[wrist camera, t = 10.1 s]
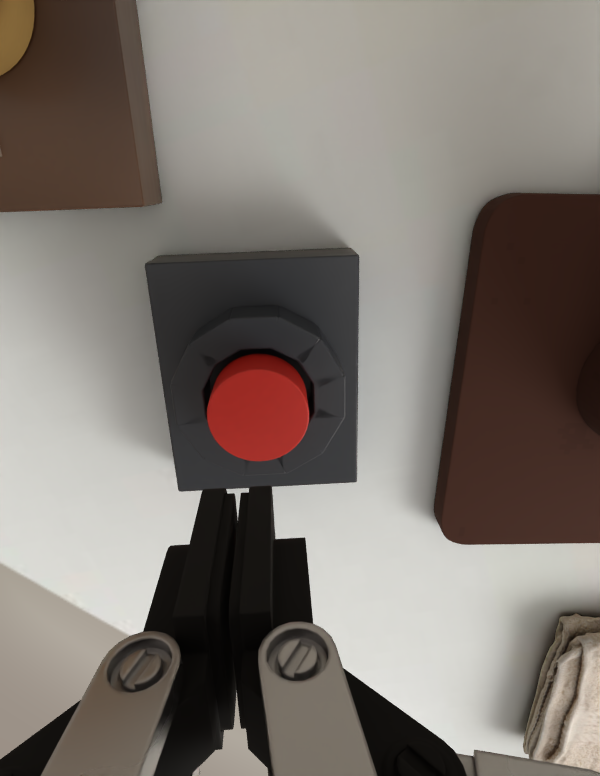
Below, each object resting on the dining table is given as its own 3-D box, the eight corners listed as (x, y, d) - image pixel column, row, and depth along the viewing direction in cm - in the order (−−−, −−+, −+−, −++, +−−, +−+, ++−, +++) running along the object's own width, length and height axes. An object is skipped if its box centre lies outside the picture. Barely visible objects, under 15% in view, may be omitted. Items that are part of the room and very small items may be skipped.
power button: (207, 355, 19) (201, 371, 17) (305, 350, 19) (307, 366, 17) (217, 441, 20) (211, 464, 18) (308, 436, 20) (310, 459, 18)
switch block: (157, 255, 21) (131, 271, 17) (351, 247, 21) (367, 261, 17) (186, 466, 25) (170, 517, 21) (350, 458, 25) (363, 506, 21)
